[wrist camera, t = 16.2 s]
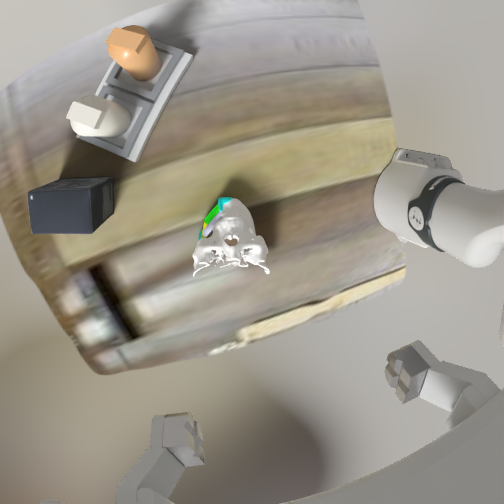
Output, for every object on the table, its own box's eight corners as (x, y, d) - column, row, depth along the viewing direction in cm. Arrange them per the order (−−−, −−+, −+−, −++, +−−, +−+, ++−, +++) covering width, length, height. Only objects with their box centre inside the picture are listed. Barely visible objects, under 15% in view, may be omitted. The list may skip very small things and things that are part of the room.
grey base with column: (133, 37, 31) (106, -1, 18) (193, 58, 35) (188, 22, 21) (81, 137, 36) (33, 138, 23) (138, 161, 39) (107, 170, 26)
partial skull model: (272, 193, 41) (280, 254, 38) (262, 221, 50) (268, 274, 46) (189, 193, 40) (188, 256, 36) (193, 222, 48) (193, 276, 44)
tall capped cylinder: (140, 49, 31) (118, 16, 19) (167, 58, 32) (154, 26, 21) (124, 76, 32) (96, 52, 21) (151, 85, 34) (131, 62, 22)
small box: (60, 216, 40) (30, 236, 30) (58, 178, 38) (25, 190, 28) (114, 215, 42) (92, 236, 32) (114, 175, 39) (89, 186, 30)
